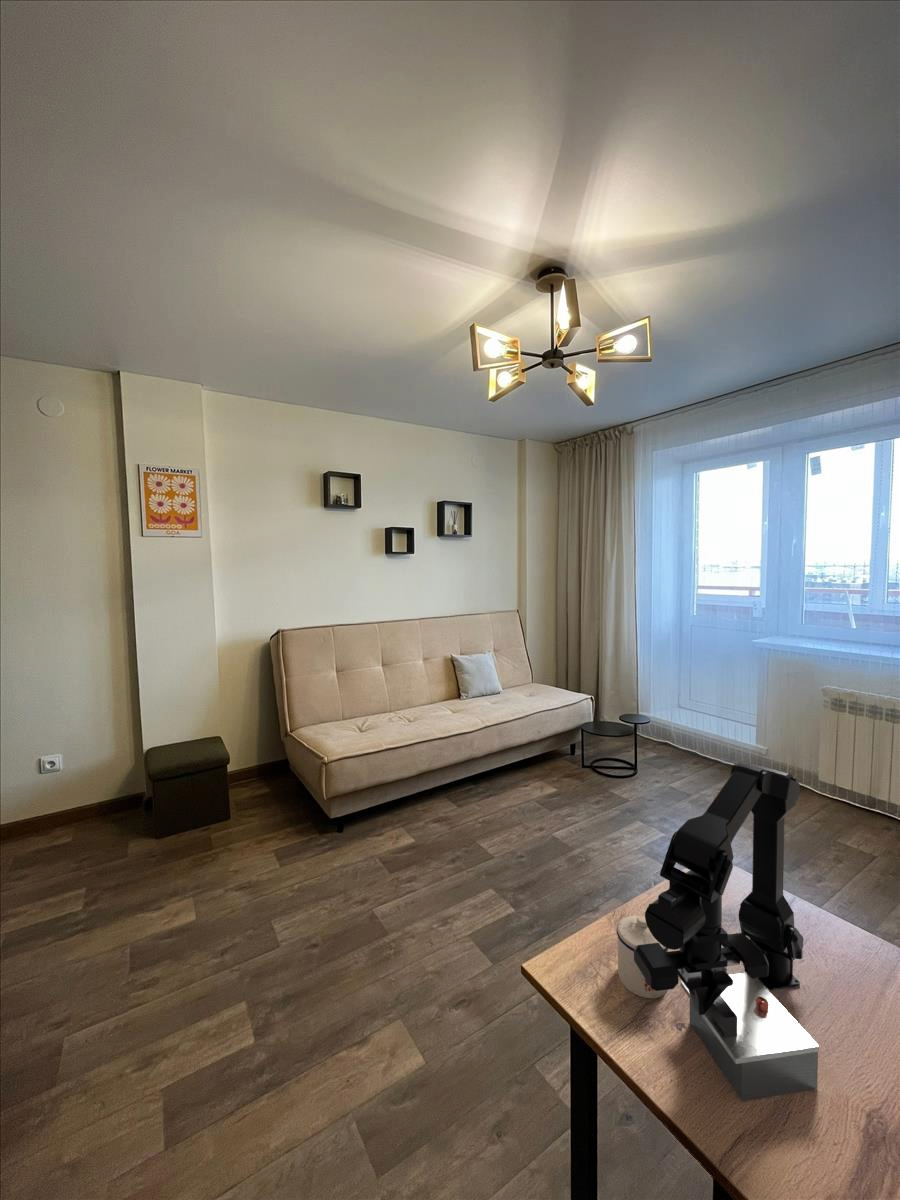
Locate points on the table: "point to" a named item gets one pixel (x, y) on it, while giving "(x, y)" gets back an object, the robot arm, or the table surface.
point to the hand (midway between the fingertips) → (699, 1012)
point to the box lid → (755, 1023)
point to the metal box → (759, 1067)
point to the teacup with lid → (630, 936)
